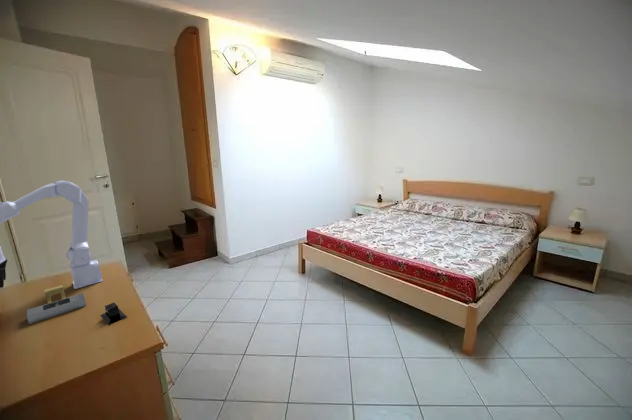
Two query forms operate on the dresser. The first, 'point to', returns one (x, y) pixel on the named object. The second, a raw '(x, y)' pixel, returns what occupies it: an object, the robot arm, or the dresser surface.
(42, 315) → the rail
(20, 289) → the dresser surface
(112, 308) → the black mounted block
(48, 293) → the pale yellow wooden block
